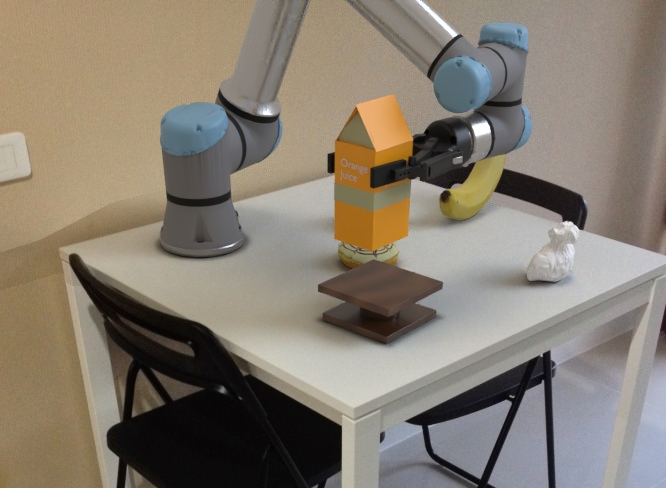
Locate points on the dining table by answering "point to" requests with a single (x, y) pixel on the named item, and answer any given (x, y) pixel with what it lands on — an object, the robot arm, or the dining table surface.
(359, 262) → the decorated donut
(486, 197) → the banana
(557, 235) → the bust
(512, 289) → the dining table surface
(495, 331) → the dining table surface
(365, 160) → the orange juice
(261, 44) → the robot arm
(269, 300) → the dining table surface
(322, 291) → the stand
